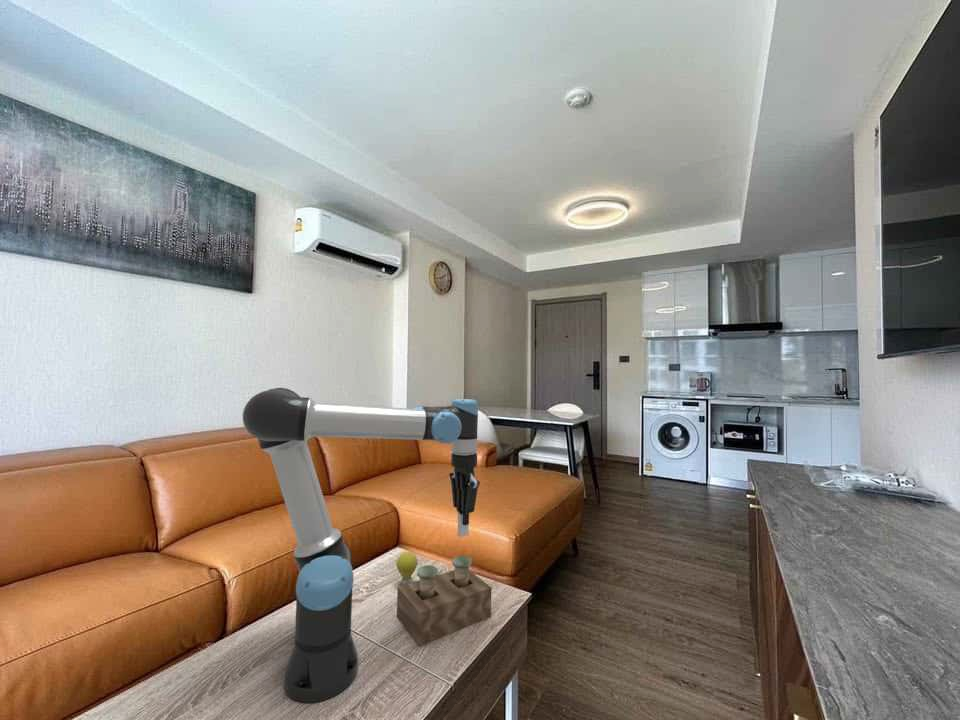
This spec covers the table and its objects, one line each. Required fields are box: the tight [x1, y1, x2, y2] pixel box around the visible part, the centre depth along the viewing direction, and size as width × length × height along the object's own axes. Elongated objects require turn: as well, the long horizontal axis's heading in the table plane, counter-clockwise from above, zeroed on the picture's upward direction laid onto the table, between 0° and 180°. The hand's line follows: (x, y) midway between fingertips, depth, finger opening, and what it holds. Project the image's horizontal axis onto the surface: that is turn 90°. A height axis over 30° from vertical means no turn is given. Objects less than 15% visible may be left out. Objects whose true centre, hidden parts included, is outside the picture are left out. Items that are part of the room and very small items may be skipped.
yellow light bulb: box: [395, 551, 419, 586], centre depth 125 cm, size 7×7×10 cm
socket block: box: [396, 569, 492, 647], centre depth 109 cm, size 22×14×8 cm, turn 124°
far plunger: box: [451, 555, 473, 588], centre depth 112 cm, size 6×6×8 cm
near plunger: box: [416, 564, 439, 600], centre depth 106 cm, size 6×6×8 cm
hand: (463, 534), depth 113 cm, fingers closed
